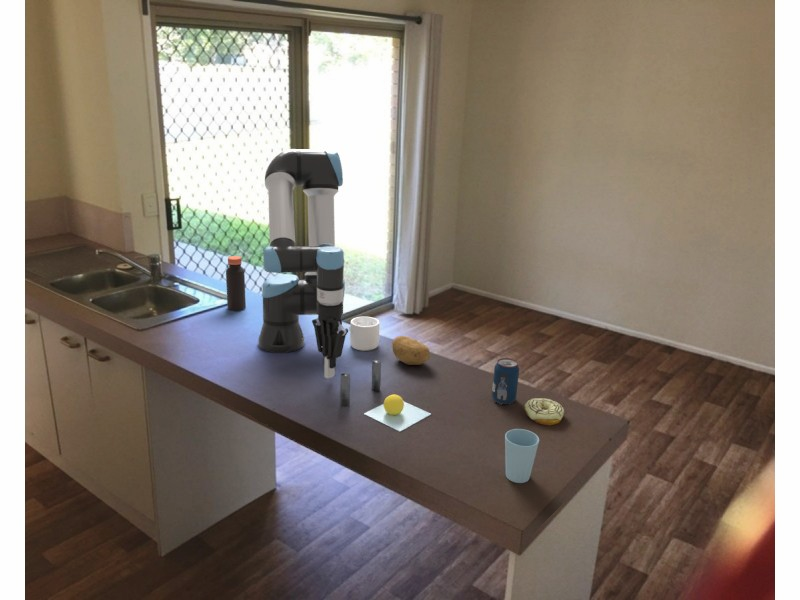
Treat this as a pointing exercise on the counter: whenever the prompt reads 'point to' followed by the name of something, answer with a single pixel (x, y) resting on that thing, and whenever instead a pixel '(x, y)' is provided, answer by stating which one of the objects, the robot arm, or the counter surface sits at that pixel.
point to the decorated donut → (544, 411)
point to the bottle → (235, 284)
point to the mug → (364, 333)
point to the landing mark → (398, 416)
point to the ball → (393, 404)
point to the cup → (520, 454)
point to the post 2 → (376, 375)
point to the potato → (410, 350)
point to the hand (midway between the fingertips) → (329, 376)
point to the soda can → (505, 381)
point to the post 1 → (345, 390)
